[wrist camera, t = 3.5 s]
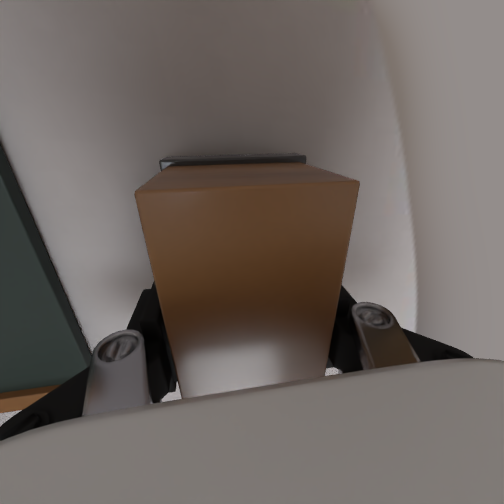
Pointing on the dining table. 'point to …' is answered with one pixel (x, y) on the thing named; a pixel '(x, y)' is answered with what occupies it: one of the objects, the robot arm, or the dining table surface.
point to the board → (31, 309)
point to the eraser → (247, 265)
